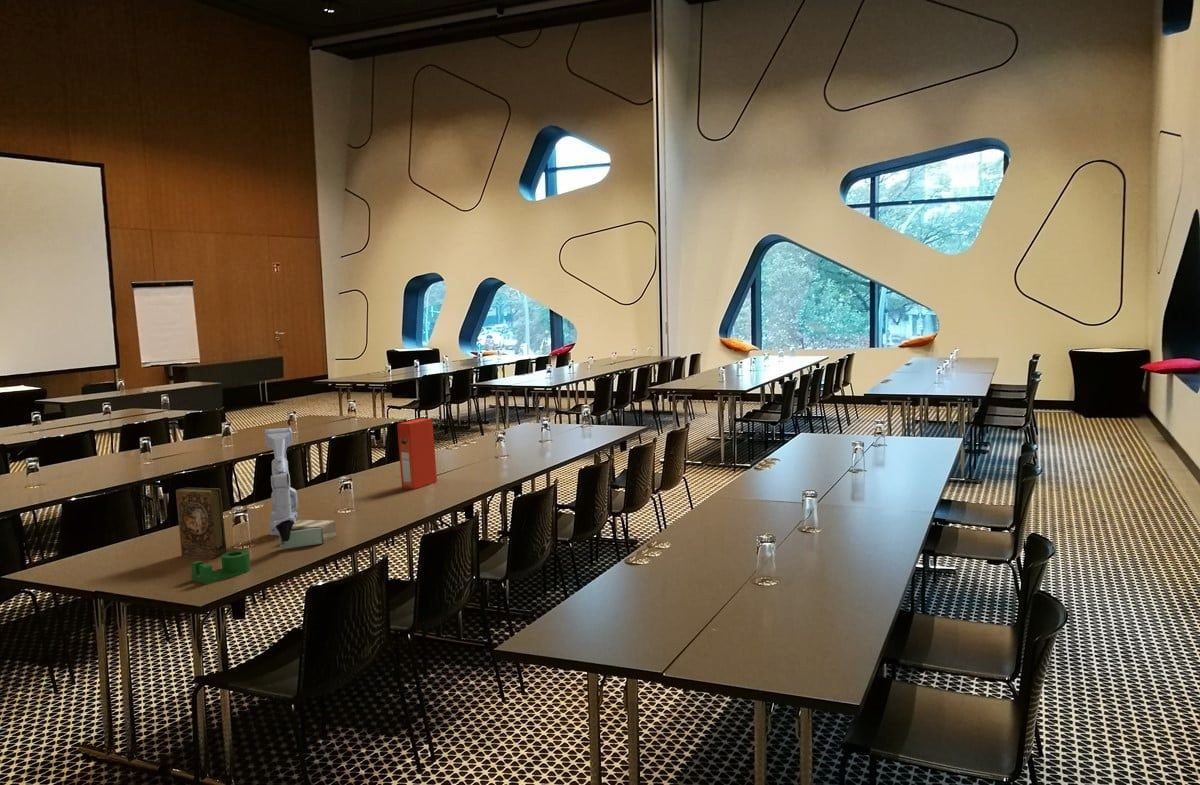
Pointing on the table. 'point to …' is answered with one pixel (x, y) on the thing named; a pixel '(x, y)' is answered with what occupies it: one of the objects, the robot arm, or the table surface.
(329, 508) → the table surface
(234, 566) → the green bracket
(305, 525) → the cabinet
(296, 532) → the door
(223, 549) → the book
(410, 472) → the file binder
